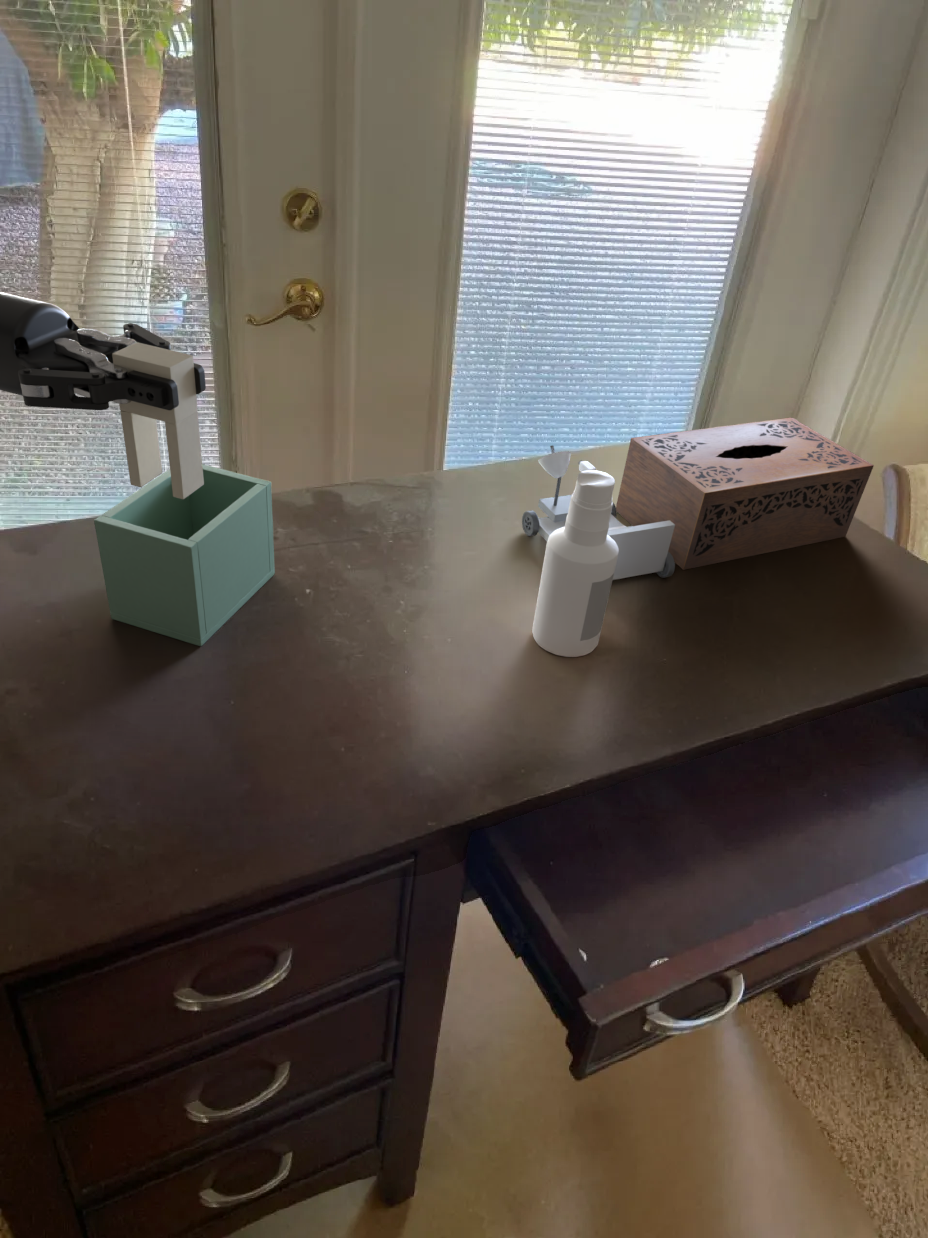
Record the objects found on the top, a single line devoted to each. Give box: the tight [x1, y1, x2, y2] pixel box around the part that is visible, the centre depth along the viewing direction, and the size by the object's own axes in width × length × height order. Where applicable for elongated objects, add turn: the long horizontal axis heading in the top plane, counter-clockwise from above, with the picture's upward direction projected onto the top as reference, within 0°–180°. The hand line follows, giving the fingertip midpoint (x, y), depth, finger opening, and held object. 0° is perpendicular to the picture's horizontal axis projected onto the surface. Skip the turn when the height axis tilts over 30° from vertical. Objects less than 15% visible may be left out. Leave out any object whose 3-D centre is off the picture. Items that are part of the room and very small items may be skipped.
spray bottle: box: [531, 469, 619, 658], centre depth 85 cm, size 7×7×18 cm
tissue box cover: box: [615, 416, 875, 571], centre depth 110 cm, size 26×14×10 cm, turn 115°
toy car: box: [521, 444, 676, 581], centre depth 102 cm, size 18×10×12 cm
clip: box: [112, 342, 204, 499], centre depth 70 cm, size 5×3×11 cm, turn 70°
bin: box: [93, 463, 276, 647], centre depth 87 cm, size 14×10×11 cm
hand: (188, 387), depth 67 cm, fingers closed on clip, 3 cm apart
